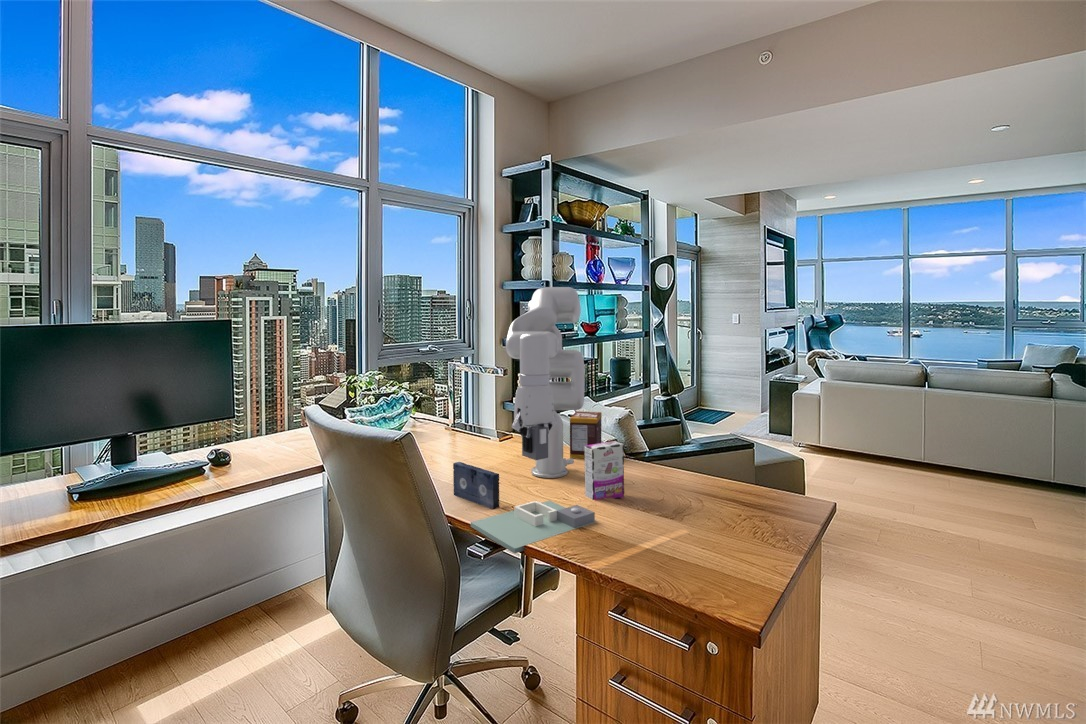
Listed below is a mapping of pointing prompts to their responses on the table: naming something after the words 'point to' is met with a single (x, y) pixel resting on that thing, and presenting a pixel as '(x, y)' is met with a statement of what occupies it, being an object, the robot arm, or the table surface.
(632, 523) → the table surface
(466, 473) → the vhs cassette tape
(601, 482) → the candy bar box
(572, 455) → the supplement box
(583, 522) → the grey button box
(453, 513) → the table surface
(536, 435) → the plug
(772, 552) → the table surface
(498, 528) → the board
